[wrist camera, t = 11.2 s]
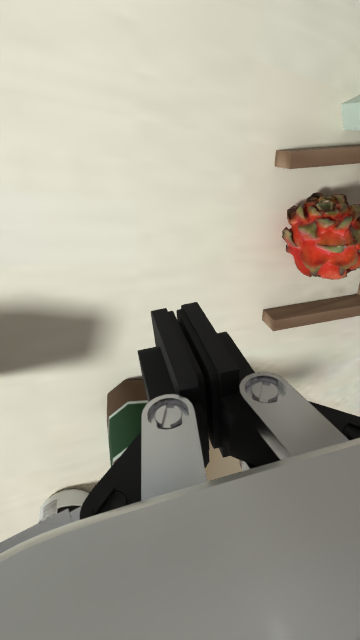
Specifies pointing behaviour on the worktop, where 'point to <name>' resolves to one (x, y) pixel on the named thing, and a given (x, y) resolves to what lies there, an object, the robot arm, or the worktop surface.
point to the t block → (351, 114)
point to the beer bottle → (125, 415)
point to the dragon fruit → (324, 236)
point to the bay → (328, 307)
